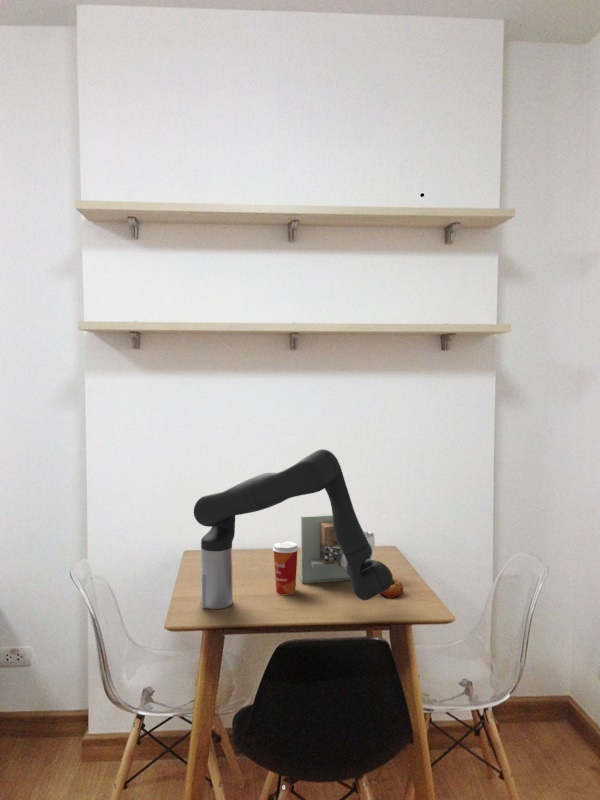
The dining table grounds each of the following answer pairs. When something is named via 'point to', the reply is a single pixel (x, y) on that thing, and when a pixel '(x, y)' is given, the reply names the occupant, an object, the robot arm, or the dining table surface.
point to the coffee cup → (285, 566)
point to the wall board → (316, 553)
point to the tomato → (393, 590)
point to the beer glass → (371, 542)
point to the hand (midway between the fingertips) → (338, 546)
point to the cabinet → (328, 539)
